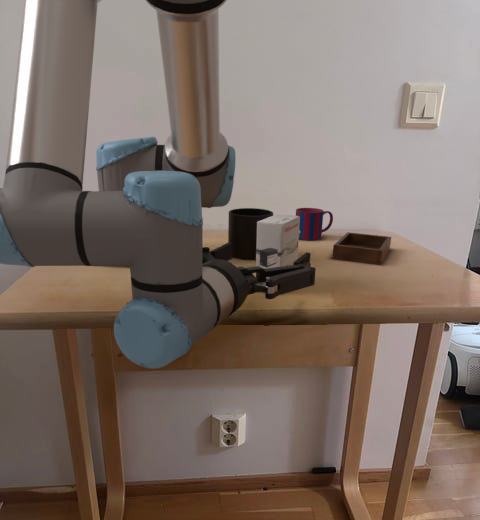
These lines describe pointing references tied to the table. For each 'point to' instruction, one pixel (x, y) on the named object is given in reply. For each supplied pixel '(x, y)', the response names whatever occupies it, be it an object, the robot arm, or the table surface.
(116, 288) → the table surface
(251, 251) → the mug
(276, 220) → the ink box
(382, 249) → the wooden tray
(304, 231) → the cup
